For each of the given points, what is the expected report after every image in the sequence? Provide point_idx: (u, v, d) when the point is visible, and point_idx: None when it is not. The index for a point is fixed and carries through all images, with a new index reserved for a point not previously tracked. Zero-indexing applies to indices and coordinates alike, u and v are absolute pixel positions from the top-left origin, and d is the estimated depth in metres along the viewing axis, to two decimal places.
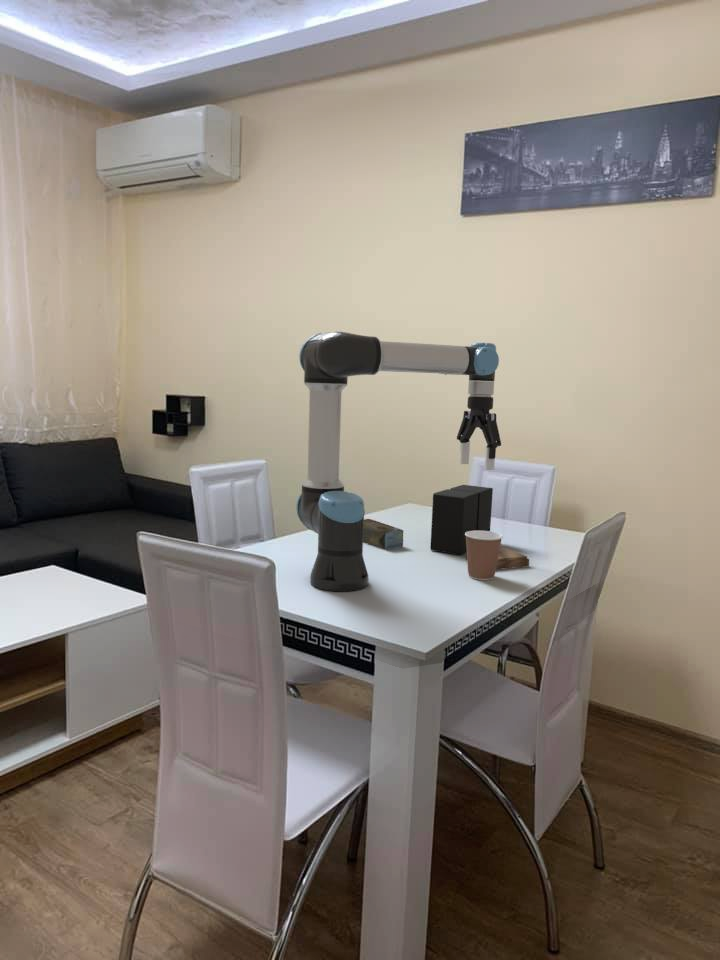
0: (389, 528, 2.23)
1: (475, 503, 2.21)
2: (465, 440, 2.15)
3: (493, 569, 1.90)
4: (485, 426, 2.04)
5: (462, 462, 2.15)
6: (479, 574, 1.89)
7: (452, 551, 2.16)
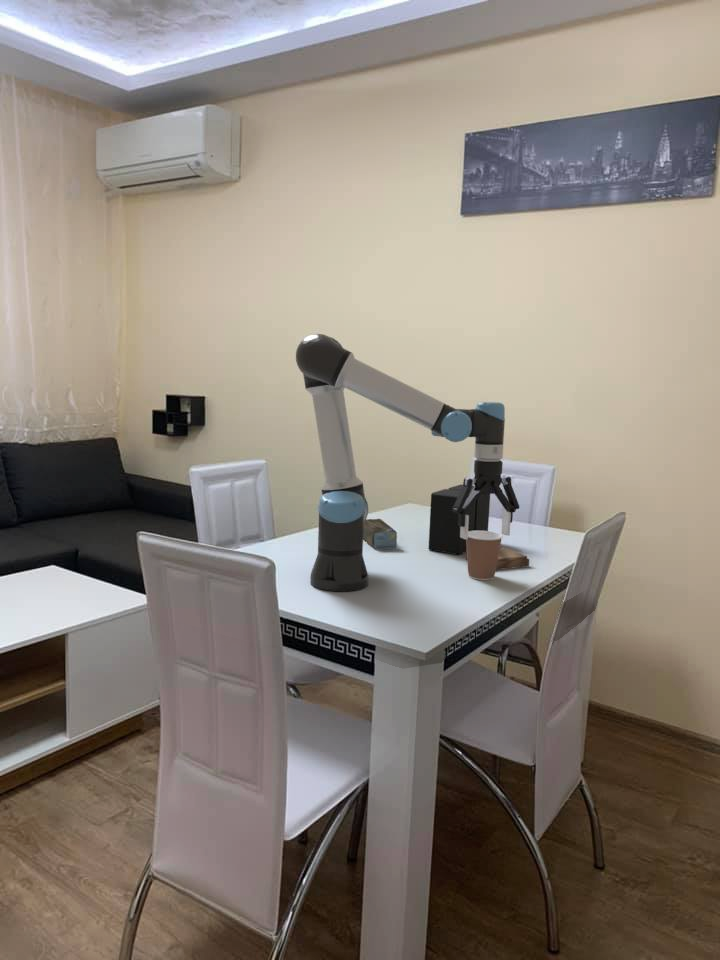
0: (384, 529, 2.22)
1: None
2: (508, 509, 1.93)
3: (493, 569, 1.90)
4: (473, 492, 1.88)
5: (502, 532, 1.94)
6: (479, 574, 1.89)
7: (450, 551, 2.16)
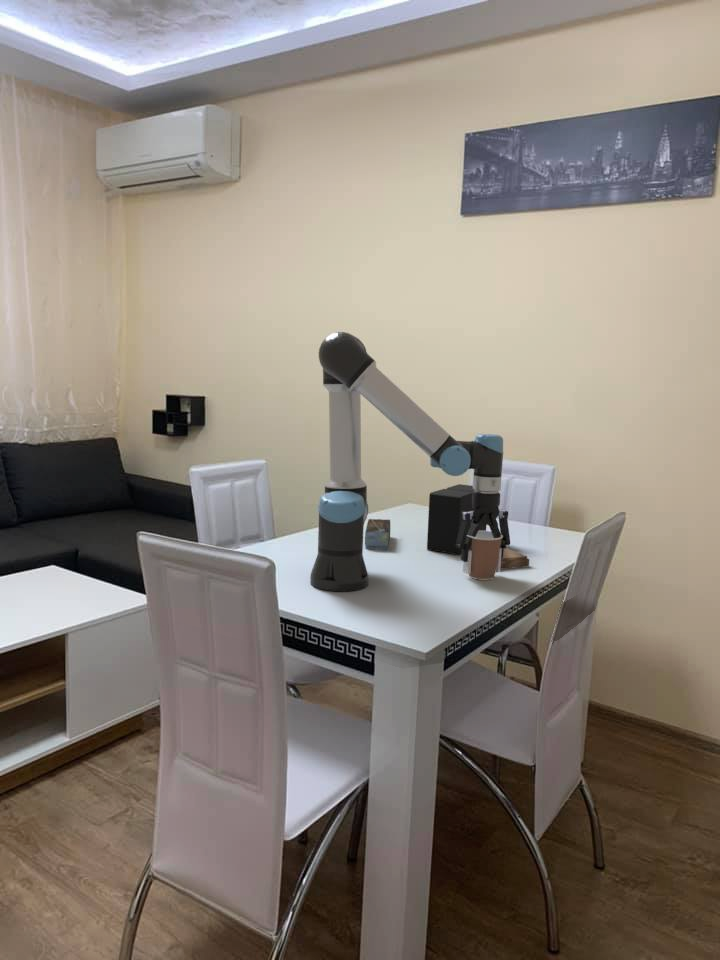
0: (378, 529, 2.22)
1: (471, 502, 2.22)
2: None
3: (493, 569, 1.90)
4: (472, 525, 1.90)
5: None
6: (479, 574, 1.89)
7: (449, 550, 2.17)
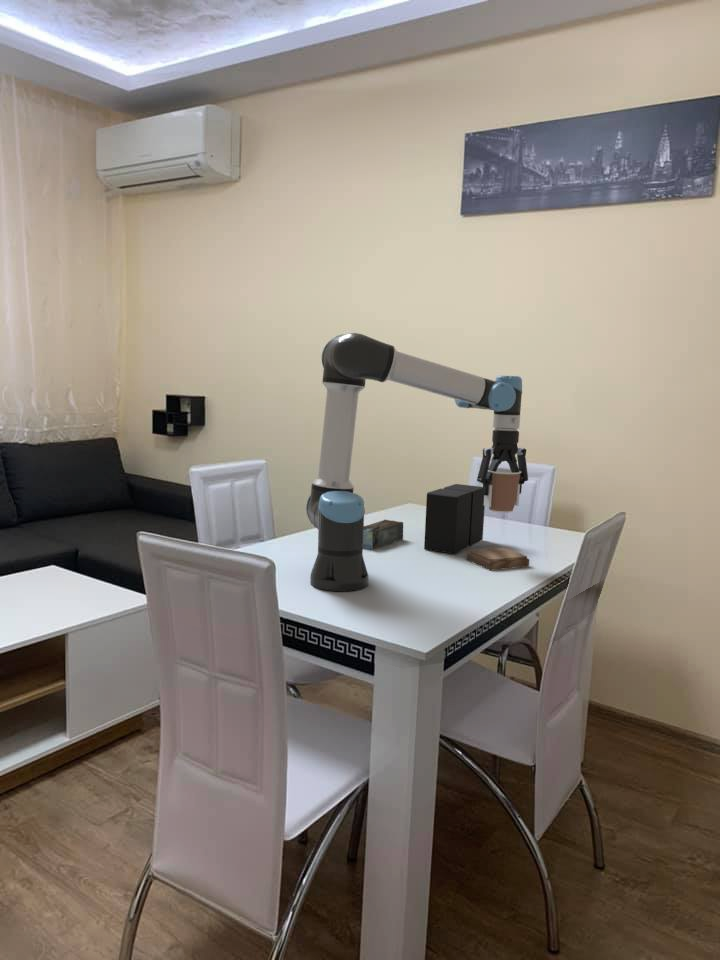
0: (369, 528, 2.23)
1: (468, 502, 2.22)
2: None
3: (512, 502, 2.02)
4: (493, 461, 2.02)
5: None
6: (499, 507, 2.02)
7: (446, 550, 2.17)
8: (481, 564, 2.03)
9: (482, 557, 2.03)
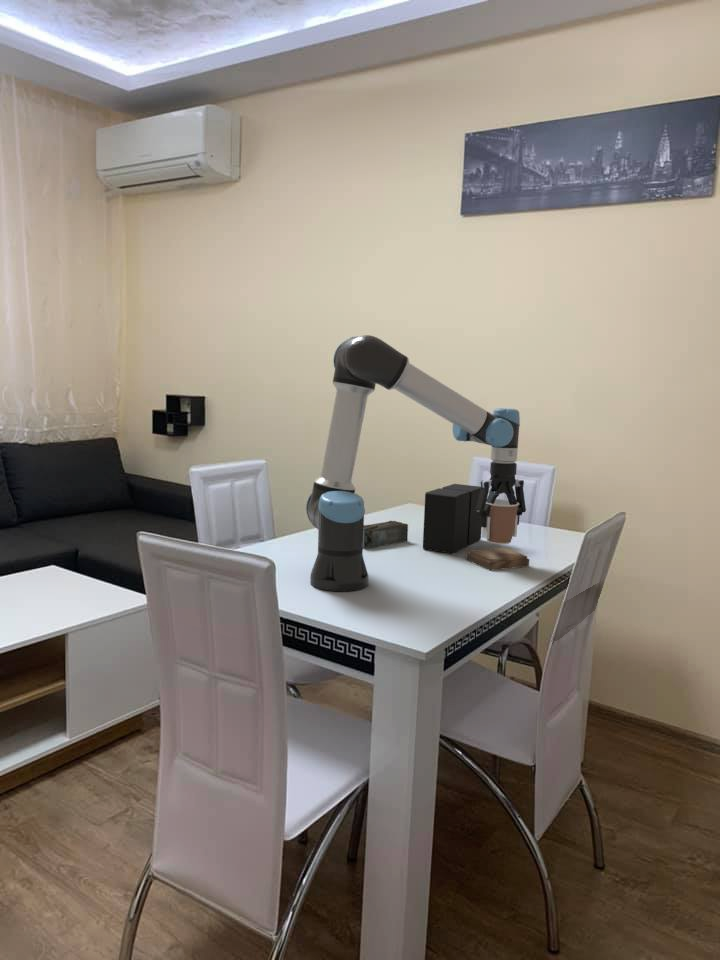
0: (365, 527, 2.23)
1: (467, 502, 2.22)
2: None
3: (510, 534, 2.04)
4: (491, 493, 2.04)
5: None
6: (497, 539, 2.03)
7: (444, 550, 2.17)
8: (481, 564, 2.03)
9: (482, 557, 2.03)
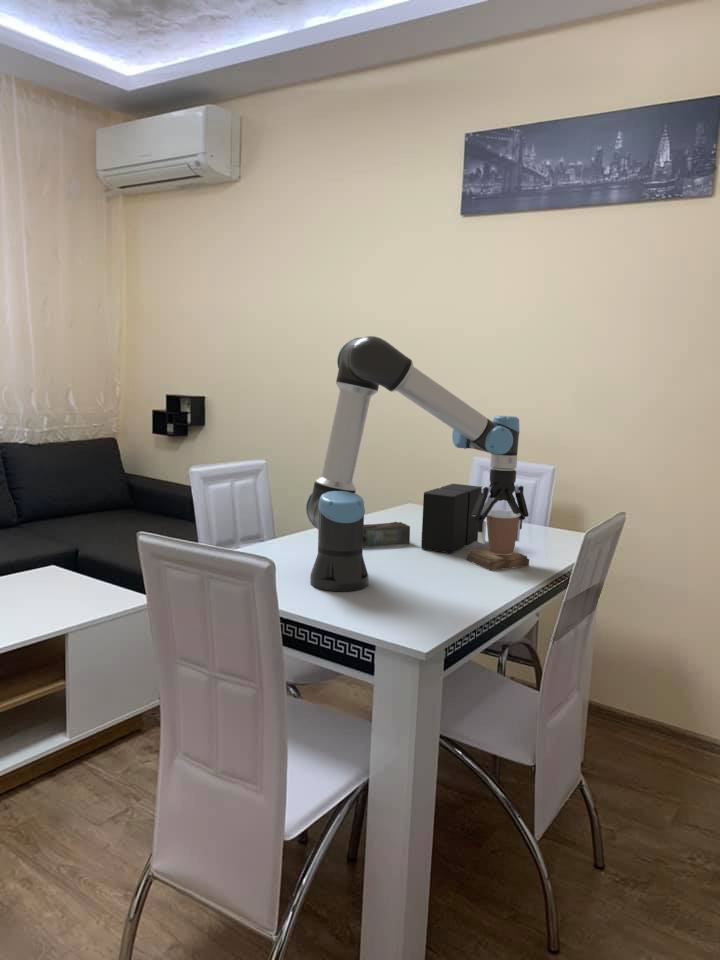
0: None
1: (465, 502, 2.23)
2: None
3: (512, 545, 2.05)
4: (489, 499, 2.04)
5: None
6: (499, 550, 2.04)
7: (443, 549, 2.18)
8: (481, 564, 2.03)
9: (482, 557, 2.03)
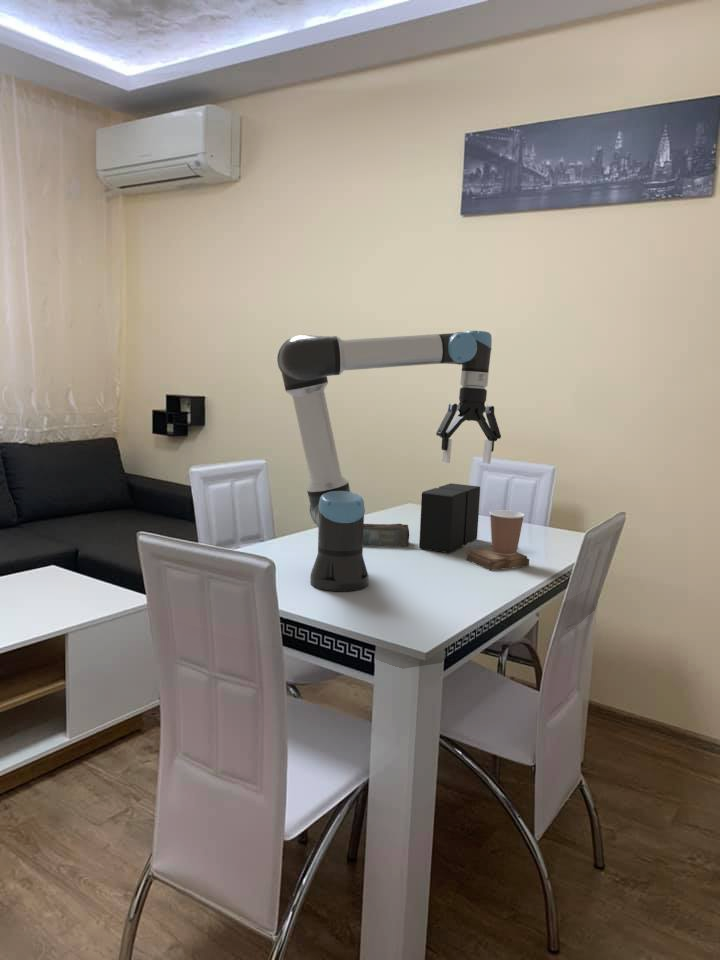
0: None
1: (463, 501, 2.23)
2: (490, 438, 2.00)
3: (516, 545, 2.05)
4: (457, 418, 1.95)
5: (483, 460, 2.01)
6: (503, 550, 2.05)
7: (441, 549, 2.18)
8: (481, 564, 2.03)
9: (482, 557, 2.03)
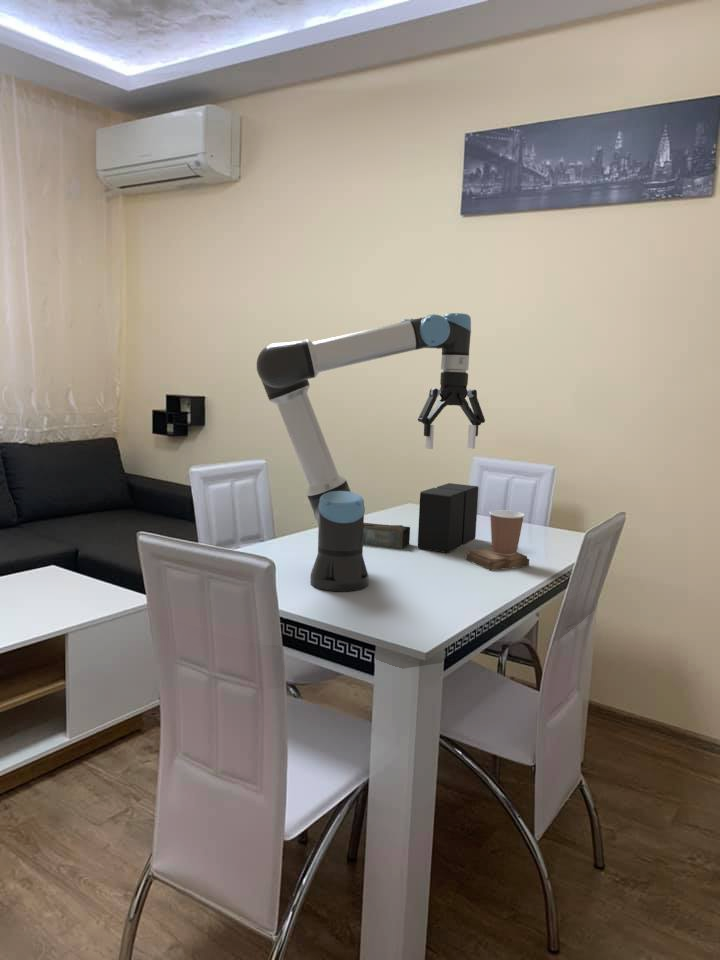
0: None
1: (461, 501, 2.23)
2: (474, 422, 1.96)
3: (516, 545, 2.05)
4: (439, 403, 1.91)
5: (468, 445, 1.98)
6: (503, 550, 2.05)
7: (439, 549, 2.18)
8: (481, 564, 2.03)
9: (482, 557, 2.03)
